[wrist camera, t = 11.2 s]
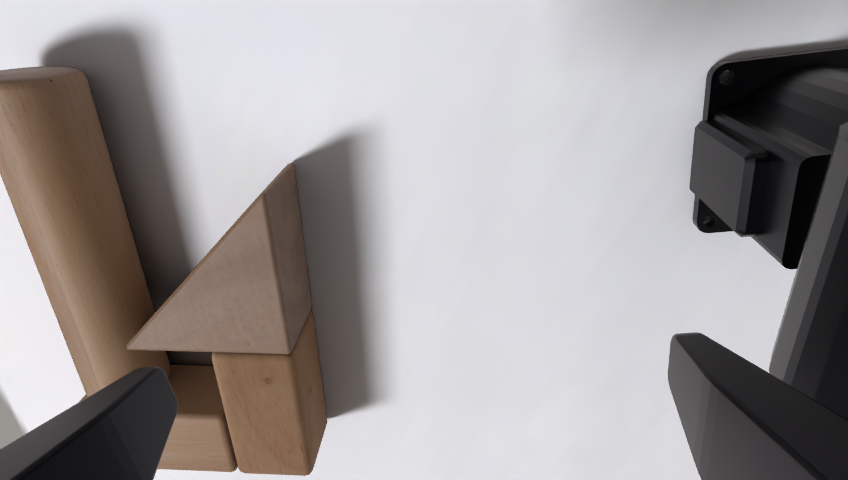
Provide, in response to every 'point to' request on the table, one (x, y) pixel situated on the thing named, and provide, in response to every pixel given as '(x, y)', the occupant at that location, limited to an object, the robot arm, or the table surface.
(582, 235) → the table surface
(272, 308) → the wooden block
